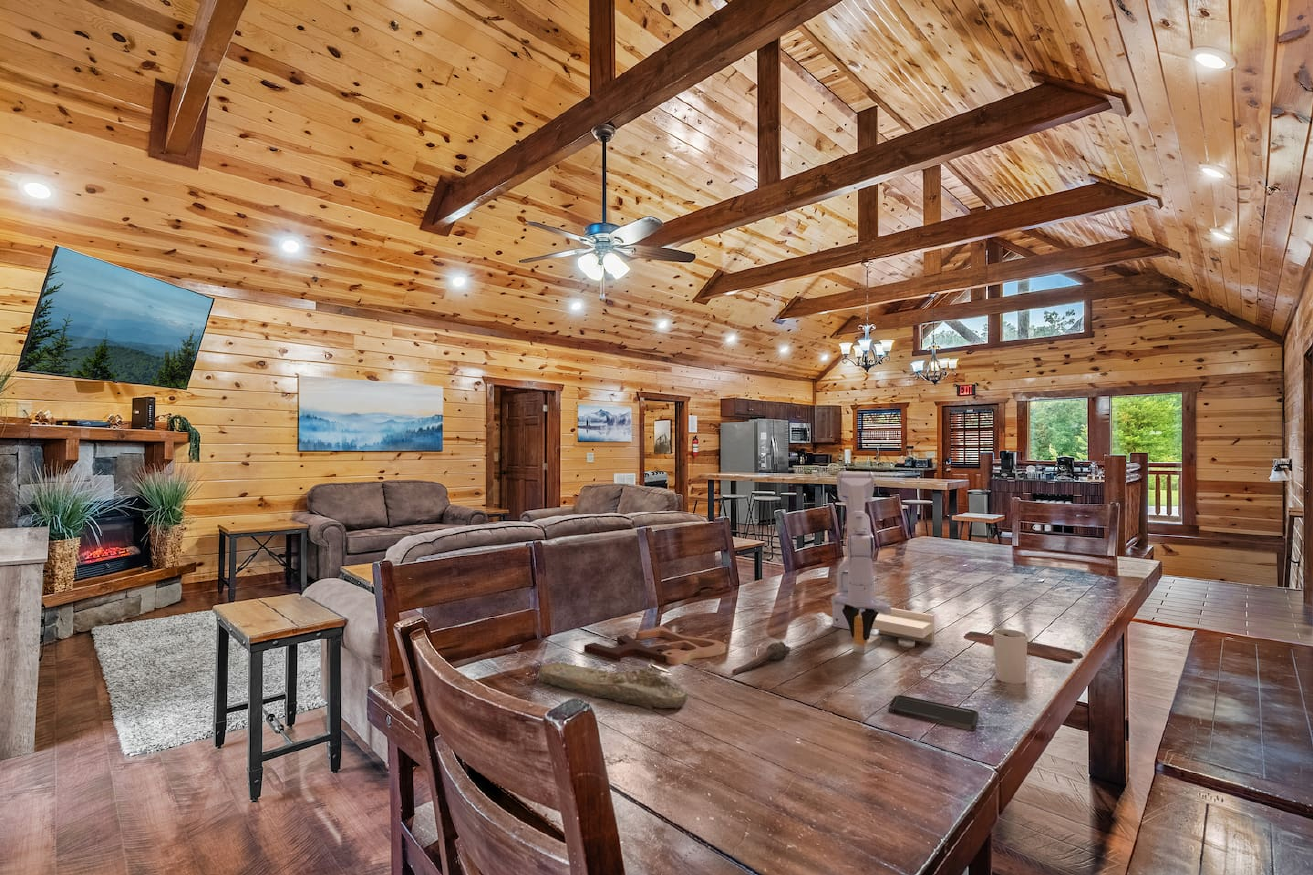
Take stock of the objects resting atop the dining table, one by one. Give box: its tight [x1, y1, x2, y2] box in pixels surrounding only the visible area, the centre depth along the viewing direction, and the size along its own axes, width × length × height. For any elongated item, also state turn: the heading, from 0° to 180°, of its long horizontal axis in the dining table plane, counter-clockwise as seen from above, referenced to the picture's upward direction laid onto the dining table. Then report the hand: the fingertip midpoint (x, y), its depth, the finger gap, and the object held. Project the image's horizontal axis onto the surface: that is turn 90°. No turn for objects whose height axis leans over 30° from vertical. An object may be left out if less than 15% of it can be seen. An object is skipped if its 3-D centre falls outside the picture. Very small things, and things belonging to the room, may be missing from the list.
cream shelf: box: [871, 607, 935, 645], centre depth 163 cm, size 14×9×7 cm, turn 49°
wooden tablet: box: [963, 631, 1084, 664], centre depth 158 cm, size 26×2×10 cm
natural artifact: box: [731, 641, 792, 675], centre depth 146 cm, size 4×23×4 cm
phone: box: [888, 694, 980, 731], centre depth 118 cm, size 8×1×15 cm
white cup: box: [992, 628, 1029, 685], centre depth 136 cm, size 7×7×10 cm
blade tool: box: [852, 616, 882, 655], centre depth 157 cm, size 3×11×8 cm, turn 139°
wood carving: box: [583, 625, 726, 666], centre depth 153 cm, size 28×2×24 cm
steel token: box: [897, 637, 916, 649], centre depth 159 cm, size 4×4×2 cm
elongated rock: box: [538, 661, 688, 709], centre depth 128 cm, size 35×5×10 cm
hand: (860, 637), depth 153 cm, fingers closed on blade tool, 2 cm apart
